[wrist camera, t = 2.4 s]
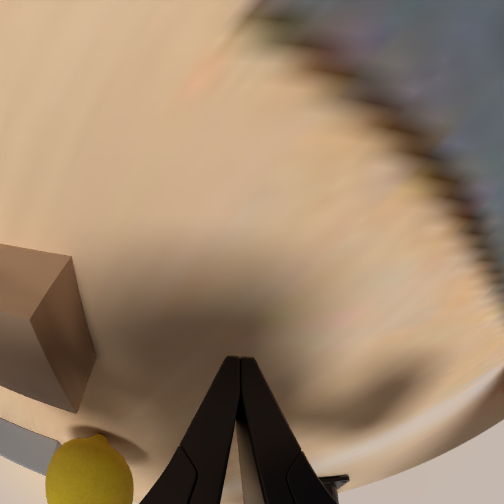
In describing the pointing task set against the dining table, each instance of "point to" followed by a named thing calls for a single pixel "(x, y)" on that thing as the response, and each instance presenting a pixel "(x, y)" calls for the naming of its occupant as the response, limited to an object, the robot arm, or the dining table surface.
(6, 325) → the brown wooden block
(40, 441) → the frame
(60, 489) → the lemon
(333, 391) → the dining table surface
